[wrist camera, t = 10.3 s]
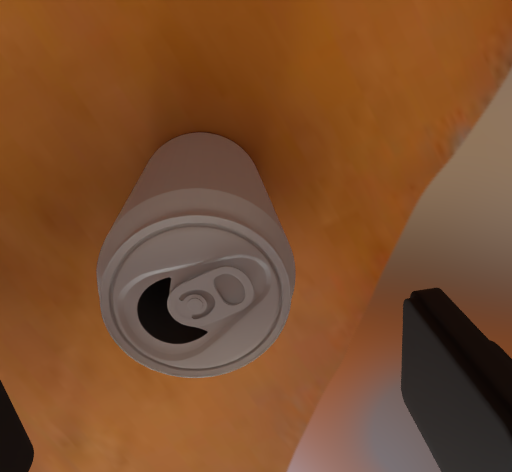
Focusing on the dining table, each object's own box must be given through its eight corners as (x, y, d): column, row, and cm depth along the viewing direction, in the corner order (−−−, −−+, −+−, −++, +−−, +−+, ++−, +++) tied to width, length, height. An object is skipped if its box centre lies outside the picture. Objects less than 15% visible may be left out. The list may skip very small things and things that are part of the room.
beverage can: (120, 164, 22) (34, 270, 11) (226, 107, 22) (245, 161, 11) (181, 257, 25) (160, 418, 14) (278, 209, 24) (335, 337, 13)
